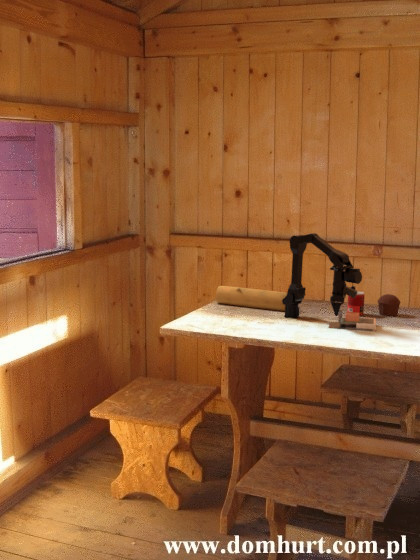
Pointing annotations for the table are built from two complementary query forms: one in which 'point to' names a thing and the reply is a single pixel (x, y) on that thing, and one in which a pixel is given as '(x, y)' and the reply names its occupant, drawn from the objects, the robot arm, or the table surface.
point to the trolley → (349, 318)
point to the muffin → (388, 305)
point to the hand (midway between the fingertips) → (337, 314)
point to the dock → (357, 325)
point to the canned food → (356, 303)
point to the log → (250, 298)
